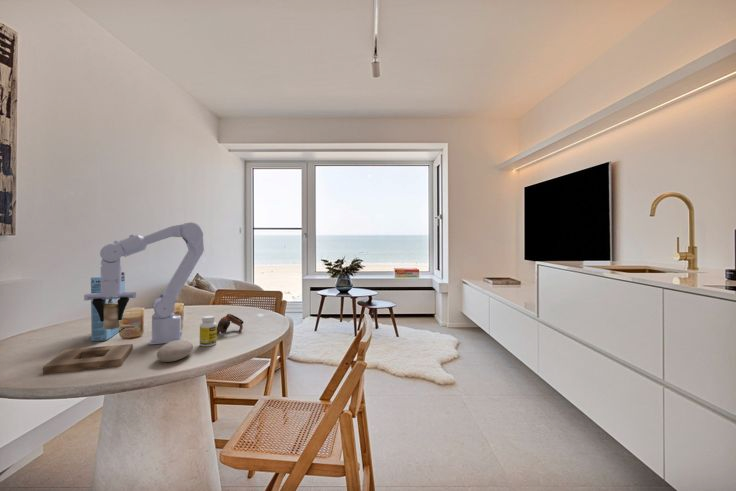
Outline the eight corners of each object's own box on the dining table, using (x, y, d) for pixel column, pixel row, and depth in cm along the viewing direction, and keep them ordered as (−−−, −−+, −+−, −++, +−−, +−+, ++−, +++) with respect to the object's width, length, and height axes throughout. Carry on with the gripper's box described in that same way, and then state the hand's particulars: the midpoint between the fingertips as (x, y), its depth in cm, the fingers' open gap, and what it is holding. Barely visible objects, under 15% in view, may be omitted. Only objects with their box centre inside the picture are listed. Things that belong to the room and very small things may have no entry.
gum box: (106, 341, 131) (106, 277, 131) (89, 342, 130) (89, 277, 129) (126, 327, 150) (125, 271, 149) (111, 328, 149) (111, 272, 148)
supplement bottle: (210, 347, 125) (210, 318, 125) (196, 346, 126) (196, 318, 126) (219, 342, 130) (219, 315, 130) (206, 341, 132) (206, 314, 131)
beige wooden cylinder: (120, 325, 126) (120, 302, 126) (117, 328, 122) (117, 304, 122) (105, 326, 125) (105, 303, 124) (101, 329, 120) (101, 305, 120)
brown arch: (218, 330, 149) (229, 312, 151) (238, 341, 148) (249, 323, 150) (206, 330, 138) (218, 310, 139) (227, 342, 137) (239, 322, 138)
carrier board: (132, 349, 122) (132, 343, 121) (120, 365, 107) (120, 359, 107) (65, 355, 115) (65, 349, 115) (42, 373, 100) (42, 366, 100)
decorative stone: (179, 366, 107) (179, 349, 107) (148, 365, 108) (148, 348, 107) (199, 352, 120) (199, 337, 120) (172, 352, 120) (172, 336, 120)
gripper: (138, 278, 129) (139, 316, 130) (88, 279, 124) (89, 319, 124) (134, 280, 123) (134, 320, 123) (81, 282, 117) (82, 324, 118)
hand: (111, 320), depth 123 cm, fingers closed on beige wooden cylinder, 4 cm apart
